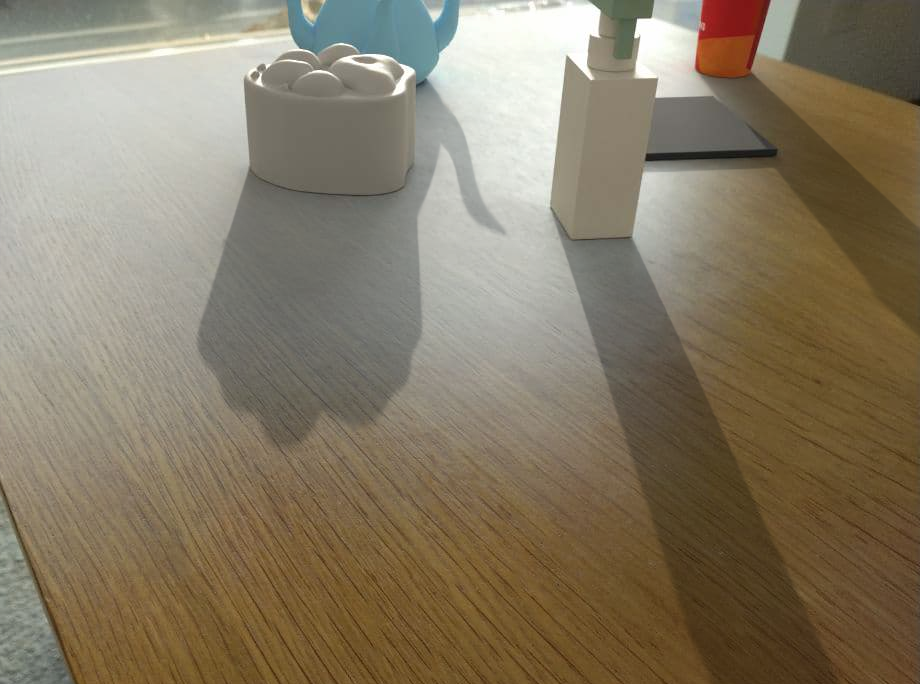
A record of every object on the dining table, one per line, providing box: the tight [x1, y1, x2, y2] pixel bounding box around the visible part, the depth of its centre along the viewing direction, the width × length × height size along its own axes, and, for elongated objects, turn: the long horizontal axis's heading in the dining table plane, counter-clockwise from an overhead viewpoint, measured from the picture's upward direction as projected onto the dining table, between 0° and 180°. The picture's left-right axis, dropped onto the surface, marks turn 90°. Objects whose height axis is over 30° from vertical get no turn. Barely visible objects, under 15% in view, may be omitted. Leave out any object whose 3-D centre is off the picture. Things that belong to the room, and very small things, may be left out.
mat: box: [645, 95, 779, 161], centre depth 86 cm, size 14×14×1 cm
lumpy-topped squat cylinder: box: [243, 44, 417, 196], centre depth 76 cm, size 10×13×9 cm
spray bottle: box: [549, 0, 659, 241], centre depth 65 cm, size 4×6×17 cm
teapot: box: [286, 0, 461, 86], centre depth 96 cm, size 15×15×10 cm
